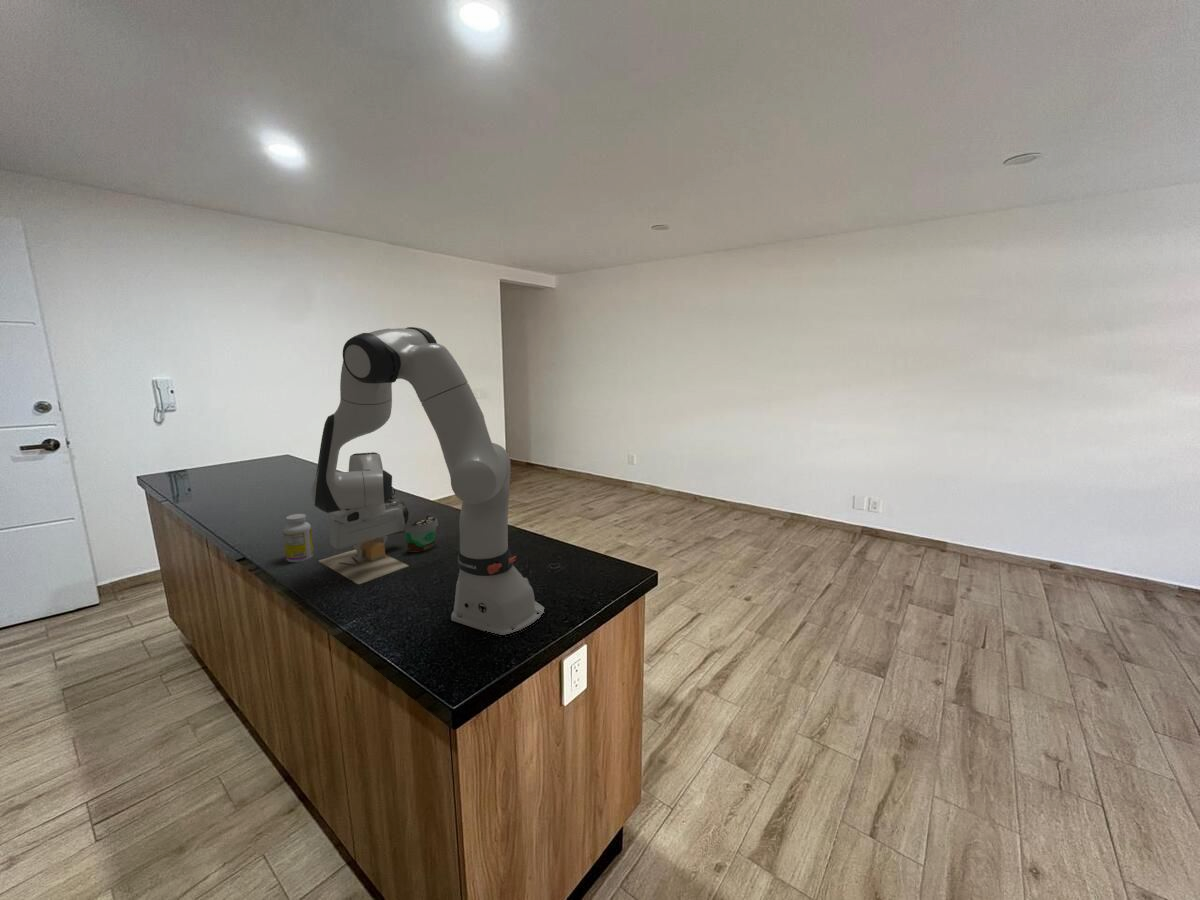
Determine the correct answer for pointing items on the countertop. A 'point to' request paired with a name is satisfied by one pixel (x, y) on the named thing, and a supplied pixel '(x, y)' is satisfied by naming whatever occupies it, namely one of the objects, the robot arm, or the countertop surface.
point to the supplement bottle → (298, 538)
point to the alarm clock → (405, 510)
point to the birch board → (361, 566)
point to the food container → (421, 534)
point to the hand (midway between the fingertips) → (371, 553)
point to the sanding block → (373, 550)
